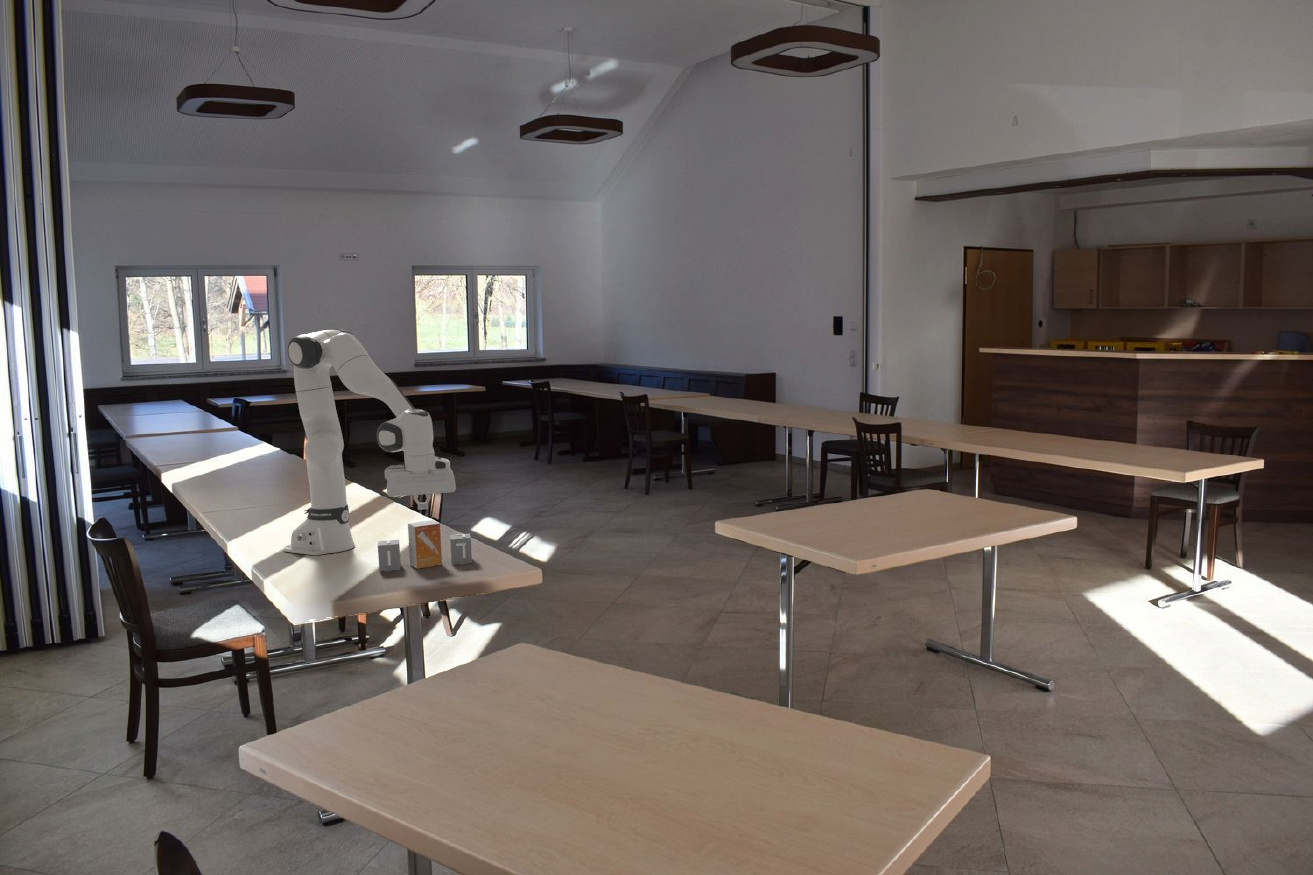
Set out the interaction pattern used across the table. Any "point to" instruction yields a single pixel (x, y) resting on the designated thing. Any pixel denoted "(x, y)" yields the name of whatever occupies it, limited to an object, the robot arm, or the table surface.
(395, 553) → the numbered block one
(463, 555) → the numbered block seven
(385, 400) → the robot arm
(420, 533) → the small box
